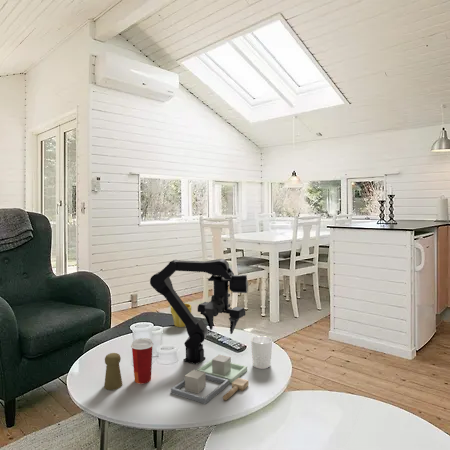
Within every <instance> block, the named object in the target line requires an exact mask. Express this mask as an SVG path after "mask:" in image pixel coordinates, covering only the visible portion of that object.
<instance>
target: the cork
mask: <svg viewBox="0 0 450 450" xmlns="http://www.w3.org/2000/svg"><path fill="white" fill-rule="evenodd" d="M121 359H122V358H121V355H120V354H119V353H118V352H110V353H108V354H106V356H105V357H104V364H105V367H106V368H105V376H104V377H105V378H104V386H103V387H104V389H105V390H107V391H115V390H119V389H120V388H121V387H122V386H123V380H122V373H121V369H120V367H121V366H120V363H121Z"/></svg>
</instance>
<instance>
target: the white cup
mask: <svg viewBox="0 0 450 450" xmlns="http://www.w3.org/2000/svg"><path fill="white" fill-rule="evenodd" d="M272 339H273V338H271V337H269V336H265V335H258V336H256V335H255V336H253V337H252V338H251V341H250V342H251V356H252V366H253V367H254V368H256V369H260V370H261V369H262V370H264V369H268V367H271V365H272V364H271V363H272V362H271V359H272V349H273V340H272Z"/></svg>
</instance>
